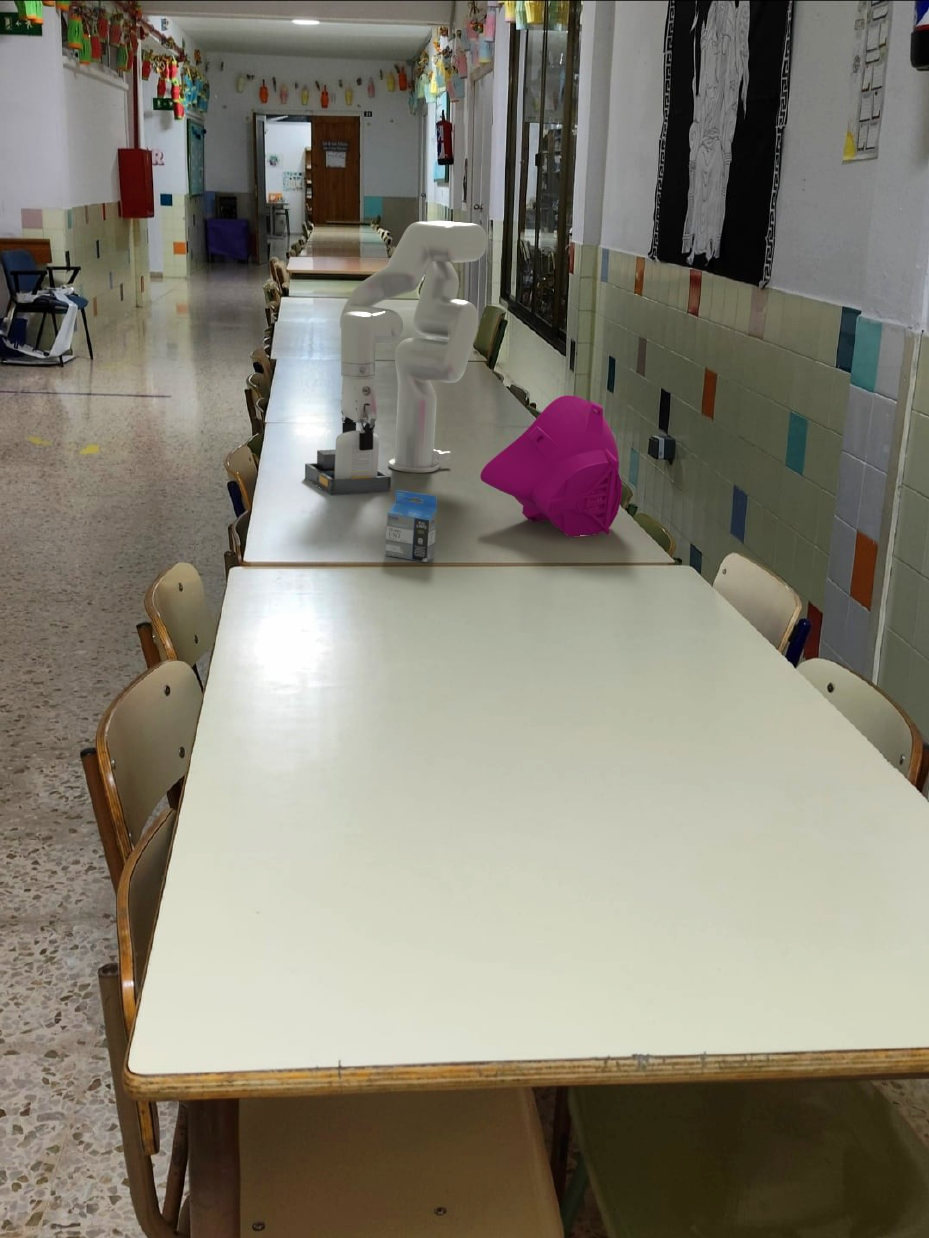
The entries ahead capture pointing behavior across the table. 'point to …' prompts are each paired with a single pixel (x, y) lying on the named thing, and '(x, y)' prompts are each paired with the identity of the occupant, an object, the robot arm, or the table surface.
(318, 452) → the tray
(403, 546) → the label tape box
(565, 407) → the face mask
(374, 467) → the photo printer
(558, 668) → the table surface
